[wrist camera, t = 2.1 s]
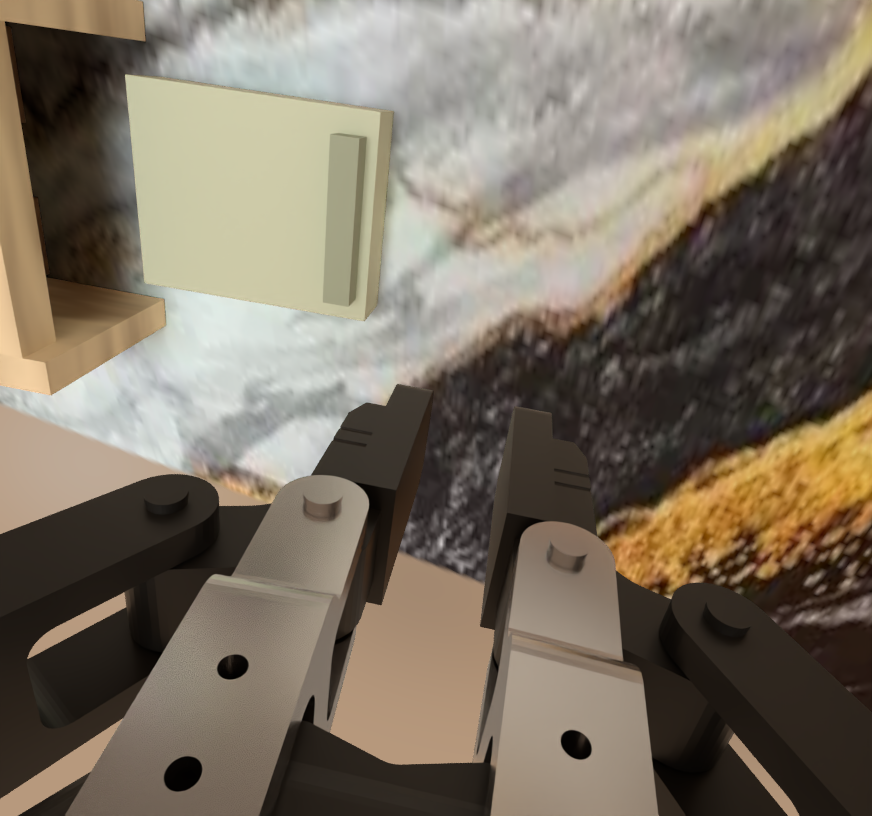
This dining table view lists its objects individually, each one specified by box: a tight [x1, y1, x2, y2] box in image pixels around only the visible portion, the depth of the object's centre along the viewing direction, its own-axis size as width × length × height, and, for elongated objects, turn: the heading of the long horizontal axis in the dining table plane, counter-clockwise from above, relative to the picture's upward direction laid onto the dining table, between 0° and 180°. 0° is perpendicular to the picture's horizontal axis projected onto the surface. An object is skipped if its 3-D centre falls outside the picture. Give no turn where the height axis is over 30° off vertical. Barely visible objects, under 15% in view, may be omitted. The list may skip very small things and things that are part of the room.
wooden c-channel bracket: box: [0, 0, 166, 395], centre depth 27 cm, size 8×15×9 cm, turn 172°
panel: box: [125, 74, 394, 321], centre depth 28 cm, size 11×9×4 cm
